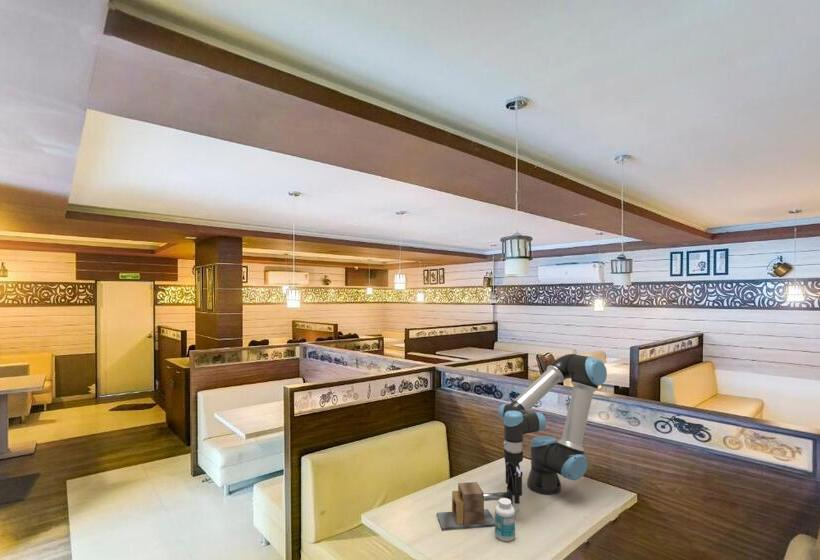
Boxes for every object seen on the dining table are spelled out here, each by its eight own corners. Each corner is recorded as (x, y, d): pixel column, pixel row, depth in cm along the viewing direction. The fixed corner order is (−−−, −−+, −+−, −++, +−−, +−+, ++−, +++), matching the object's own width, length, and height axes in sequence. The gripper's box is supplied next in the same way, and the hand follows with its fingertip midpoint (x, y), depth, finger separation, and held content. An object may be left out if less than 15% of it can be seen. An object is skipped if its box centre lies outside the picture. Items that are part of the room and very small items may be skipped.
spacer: (457, 512, 174) (458, 490, 174) (463, 524, 165) (463, 501, 165) (451, 512, 173) (452, 490, 173) (456, 525, 164) (457, 502, 164)
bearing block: (488, 511, 176) (487, 480, 176) (496, 526, 165) (496, 493, 165) (436, 515, 173) (436, 483, 174) (442, 530, 162) (442, 496, 163)
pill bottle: (492, 531, 162) (492, 496, 162) (511, 530, 163) (511, 495, 163) (498, 543, 155) (498, 506, 155) (517, 542, 155) (517, 505, 155)
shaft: (515, 498, 174) (515, 486, 174) (519, 503, 170) (519, 491, 170) (462, 501, 171) (462, 489, 172) (464, 507, 167) (464, 494, 167)
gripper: (497, 442, 181) (497, 496, 180) (512, 459, 163) (512, 519, 163) (514, 441, 181) (514, 495, 181) (530, 458, 164) (531, 518, 164)
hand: (513, 506), depth 172 cm, fingers closed on shaft, 4 cm apart
